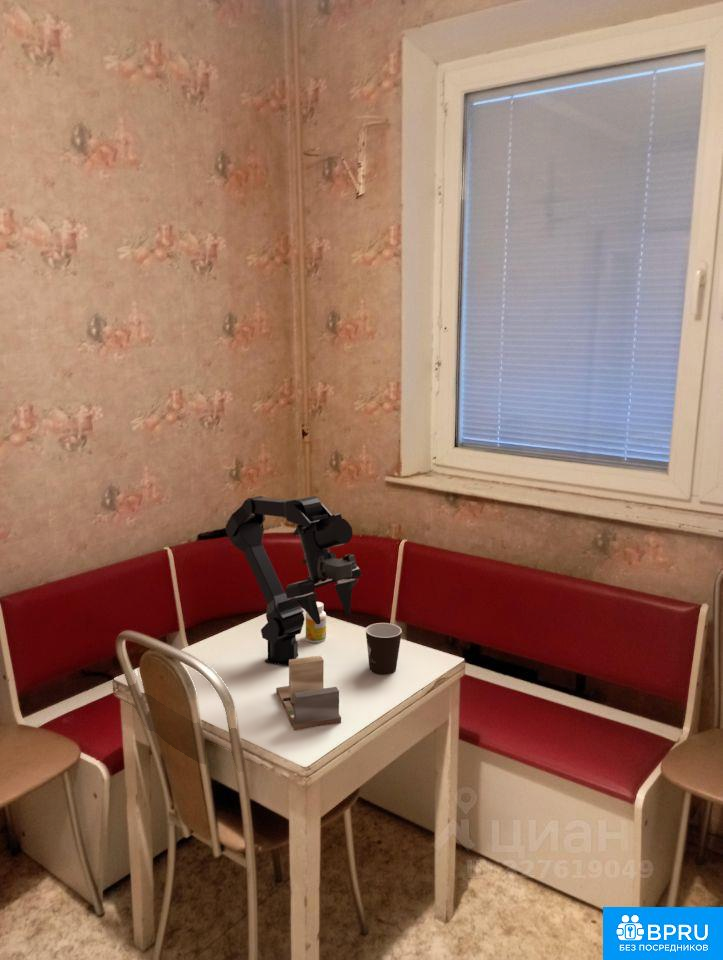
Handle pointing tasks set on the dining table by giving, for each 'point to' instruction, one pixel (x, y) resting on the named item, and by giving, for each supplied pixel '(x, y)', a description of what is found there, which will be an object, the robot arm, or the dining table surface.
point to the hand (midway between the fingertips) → (333, 618)
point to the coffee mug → (383, 647)
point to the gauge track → (311, 707)
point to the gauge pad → (305, 675)
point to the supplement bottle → (316, 626)
